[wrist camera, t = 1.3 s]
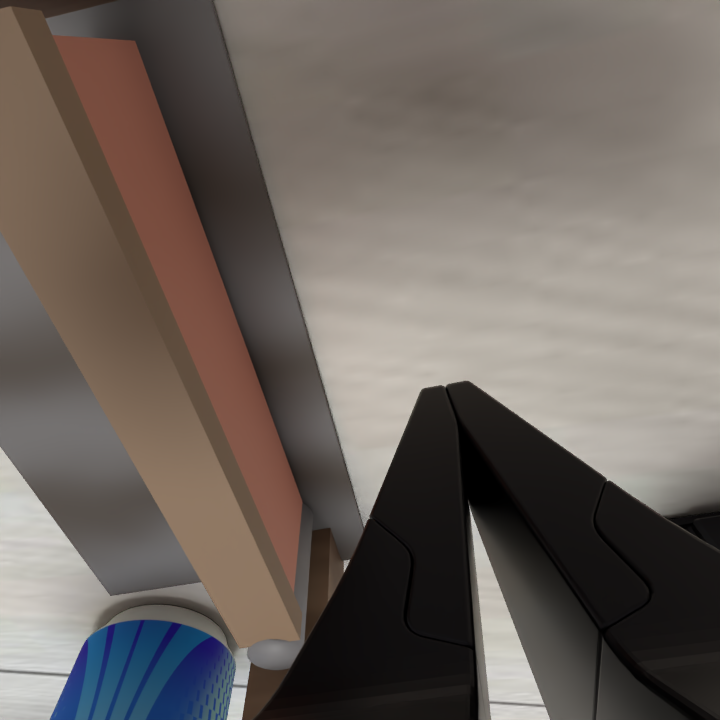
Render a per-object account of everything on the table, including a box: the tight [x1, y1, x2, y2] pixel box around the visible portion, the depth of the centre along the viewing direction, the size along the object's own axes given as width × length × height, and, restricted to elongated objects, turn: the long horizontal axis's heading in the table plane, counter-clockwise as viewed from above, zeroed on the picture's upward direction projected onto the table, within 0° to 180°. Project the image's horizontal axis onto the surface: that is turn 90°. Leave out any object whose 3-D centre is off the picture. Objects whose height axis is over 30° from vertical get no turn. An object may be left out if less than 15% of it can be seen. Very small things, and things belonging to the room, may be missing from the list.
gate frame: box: [0, 0, 364, 720], centre depth 16 cm, size 28×14×10 cm, turn 11°
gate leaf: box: [0, 6, 313, 670], centre depth 16 cm, size 20×2×6 cm, turn 11°
